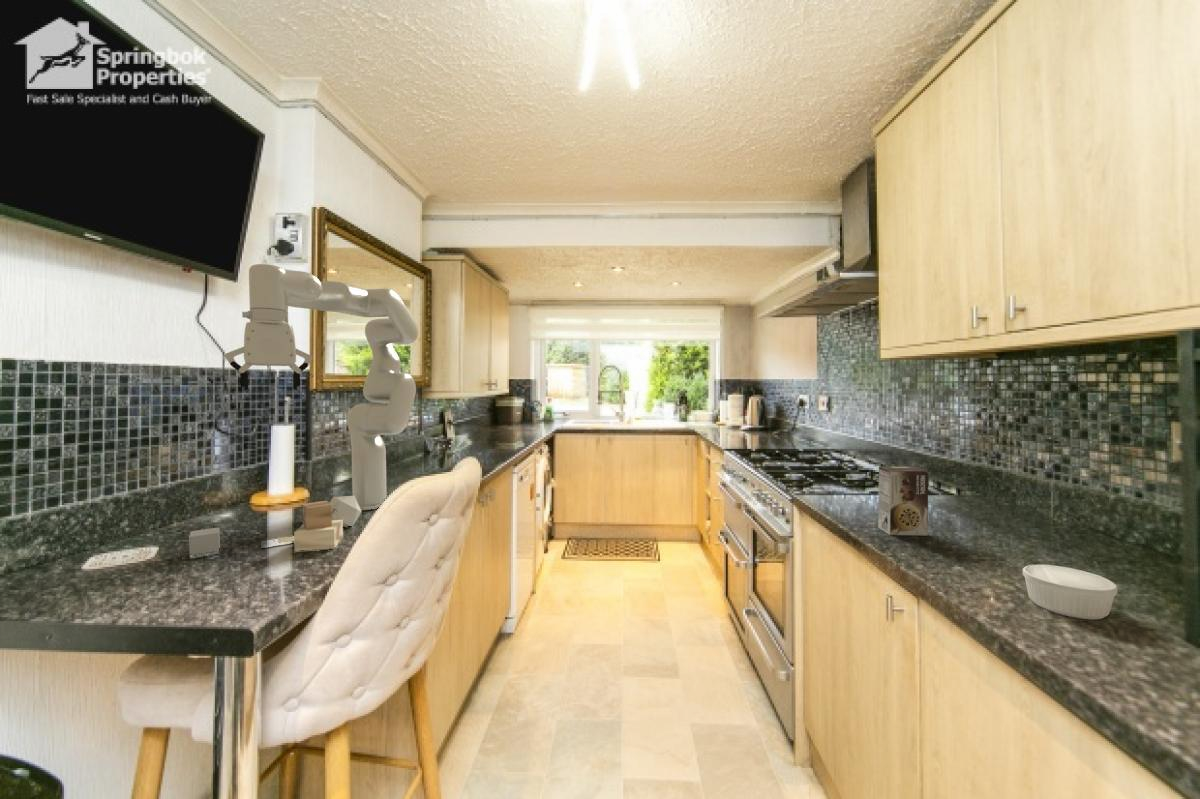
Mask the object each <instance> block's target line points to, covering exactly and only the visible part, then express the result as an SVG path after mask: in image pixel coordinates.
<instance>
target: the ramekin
mask: <svg viewBox="0 0 1200 799" xmlns="http://www.w3.org/2000/svg"><path fill="white" fill-rule="evenodd" d="M1022 575H1023V577H1024V580H1025V585H1026V586H1025V587H1026V590H1027V594H1028V597H1029V599H1030V600H1031V601H1032V602H1033V604H1035V605H1037V606H1038V607H1040V608H1042V609H1045V610H1046V611H1050V612H1052V613H1056V614H1058V615H1061V616H1062V615H1063V616H1067V617H1071V618H1077V619H1084V620H1101V619H1105V617H1107V616H1108V615H1110V612H1111V609H1112V606H1113V603H1114V600H1115V596H1116V595H1117V594H1118V590H1119V589H1118V586H1117V585H1116V583H1114V582H1113V581H1112V580H1109V579H1108V578H1106V577H1103V576H1101V575H1098V574H1095V573H1092V572H1090V571H1089V572H1087V571H1084V570H1080V569H1078V568H1077V569H1076V568H1072V567H1067V566H1060V565H1051V564H1029V565H1026V566H1024V567H1023V568H1022Z"/></svg>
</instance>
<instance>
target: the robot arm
mask: <svg viewBox="0 0 1200 799" xmlns="http://www.w3.org/2000/svg"><path fill="white" fill-rule="evenodd" d="M248 287H249V288H248V289H249V290H248V291H249V292H248V294H249V296H248V297H249V310H248V311H242V317H241V318H245V319H248V320H249V321H247V322H246V324H245V326H244V327H245V328H244V335H243V346H241V347H239V348H236V349H234V350H232V351H229V352H227V353H225V354H224V357H225V358H226V361H227V362H228V364H230V366H231V368H234V369H235V370H236V371H237V372H238V373H240V374H239V375H240V376H239V378H240V388H244V391H248V390H249V373H248V370H249V368H251V367H252V366H257V367H258V366H262V367H263V366H265V367H266V366H267V367H269V366H270V367H271V366H273V367H274V366H275V367H286V366H287V367H289V368H290V369H291V370H292V371H293V373H292V390H294V391H297V390H298V388H299V387H301V373H302V372H304V371H305V370H306V368H307V369H308V367H309V365H310V364H311V362H312V360H313V359H314V358H313V355H311V354H308V353H306V352H304V351H302V350H300V349H298V348H296V338H295V333H294V328H293V324H289V307H290V308H291V307H292V308H298V309H309V310H317V311H323V312H331V313H332V312H334V313H338V314H339V313H340V314H345V315H351V316H356V317H362V318H375V319H371V320H369V321H368V322H367V323H366V324H365V327H364V334H365V335H364V336H365V337H366V340H367V343H368V344H369V347H370V350H371V352H372V360H371V364H370V367H369V369H368V373H367V375H366V378H365V381H364V384H363V385H364V386H363V390H362V393H363V396H364V398H365V399H366V400H367V401H369V403H360V404H356V405H354V406H352V407H351V408H350V410H348V413H347V416H346V423H347V427H348V432H349V437H350V443H351V444H350V445H351V482H352V483H351V485H352V496H355V498H356V501H357V503H358V505H359V507H360V509H361V511H369V510H370V511H371V509H372V510H377V508H378V507H379V505H380V504H381V503H382V502H383V500H384V499H385V498H386V497H387V495H388V494H387V492H388V491H387V449H386V444H385V441H384V440H383V438H382V437H381V436H384V435H385V436H395V435H399V434H400V433H402V432H403V431H404V430H405V428H406V427H407V424H408V421H409V418H410V415H411V411H412V408H413V404H414V402H415V397H416V394H417V386H416V382H415V379H414V377H413V375H410V374H409V373H405V372H400V368H401V364H402V362H401V359H400V356H399V354H398V352H396V349H395V348H394V347H393V345H394V346H395V345H397V346H399V345H411V344H413V343H415V342H416V341H417V340H418V335H419V328H418V324H417V323H416V321H415V319H414V317H413V315H412V314H411V312H410V311H409V310H408V308H407V306H406V305H405V303H404V301H403V300H402V299H401V297H400V296H399V295H398V294H397V293H396V292H395V291H394V290H393V289H391V288H385V287H384V288H364V287H360V286H355V285H352V284H348V283H346V282H342V281H335V280H334V281H332V280H330V281H329V280H327V281H326V280H325V281H323V280H322V281H320V279H318V277H316V276H315V275H313V274H312V273H310V272H308V271H303V270H301V271H300V270H292V269H285V268H283V267H281V266H277V265H273V264H266V263H257V264H252V265H250V267H249V268H248ZM386 317H387V318H386ZM242 354H243V359H244V362H245V363H244V364H243V365H242V366H241V365H240V364H239V363H238V362H236V360H235V357H237V356H239V355H242ZM297 356H299V357H300V358H303V359H304V360H303V362H302V364H300V365H299V366H298V365H297V364H296V362H297ZM370 402H372V403H370ZM387 498H388V497H387ZM378 509H379V508H378Z"/></svg>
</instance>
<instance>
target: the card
mask: <svg viewBox="0 0 1200 799" xmlns="http://www.w3.org/2000/svg"><path fill="white" fill-rule="evenodd" d="M291 536H292V537H287V536H285V537H286V538H283V537H284V536H282V538H281V537H279V538H280V539H278V543H281V542H288V541H294V536H293V535H291ZM273 541H274V540H273ZM274 542H275V541H274Z"/></svg>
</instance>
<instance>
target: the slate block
mask: <svg viewBox="0 0 1200 799" xmlns="http://www.w3.org/2000/svg"><path fill="white" fill-rule="evenodd" d="M220 530H221V529H220V527H219V526H218V527H213V528H212V527H211V528H204V529H198V530H192V531H190V532H189V536H188V549H189V555H190V554H198V553H206V552H212V551H219V548H220V549H221V535H220V533H221V532H220Z"/></svg>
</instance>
